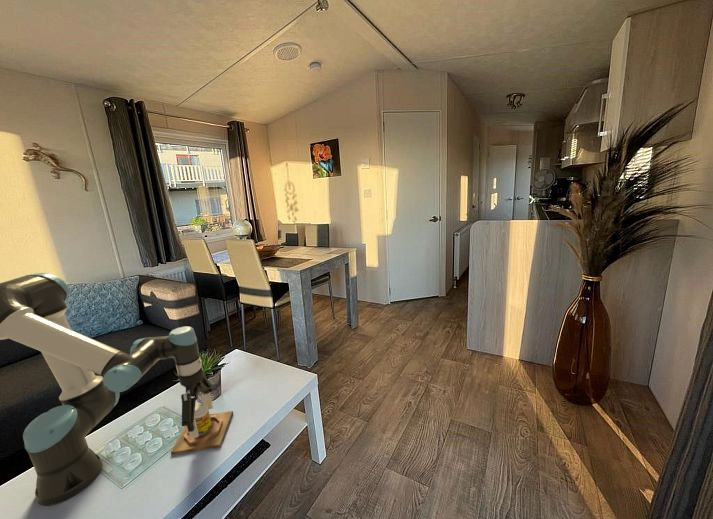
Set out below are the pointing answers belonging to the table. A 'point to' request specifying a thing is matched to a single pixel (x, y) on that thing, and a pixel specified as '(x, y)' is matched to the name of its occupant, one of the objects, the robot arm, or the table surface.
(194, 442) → the holder board
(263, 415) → the table surface
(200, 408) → the supplement bottle
